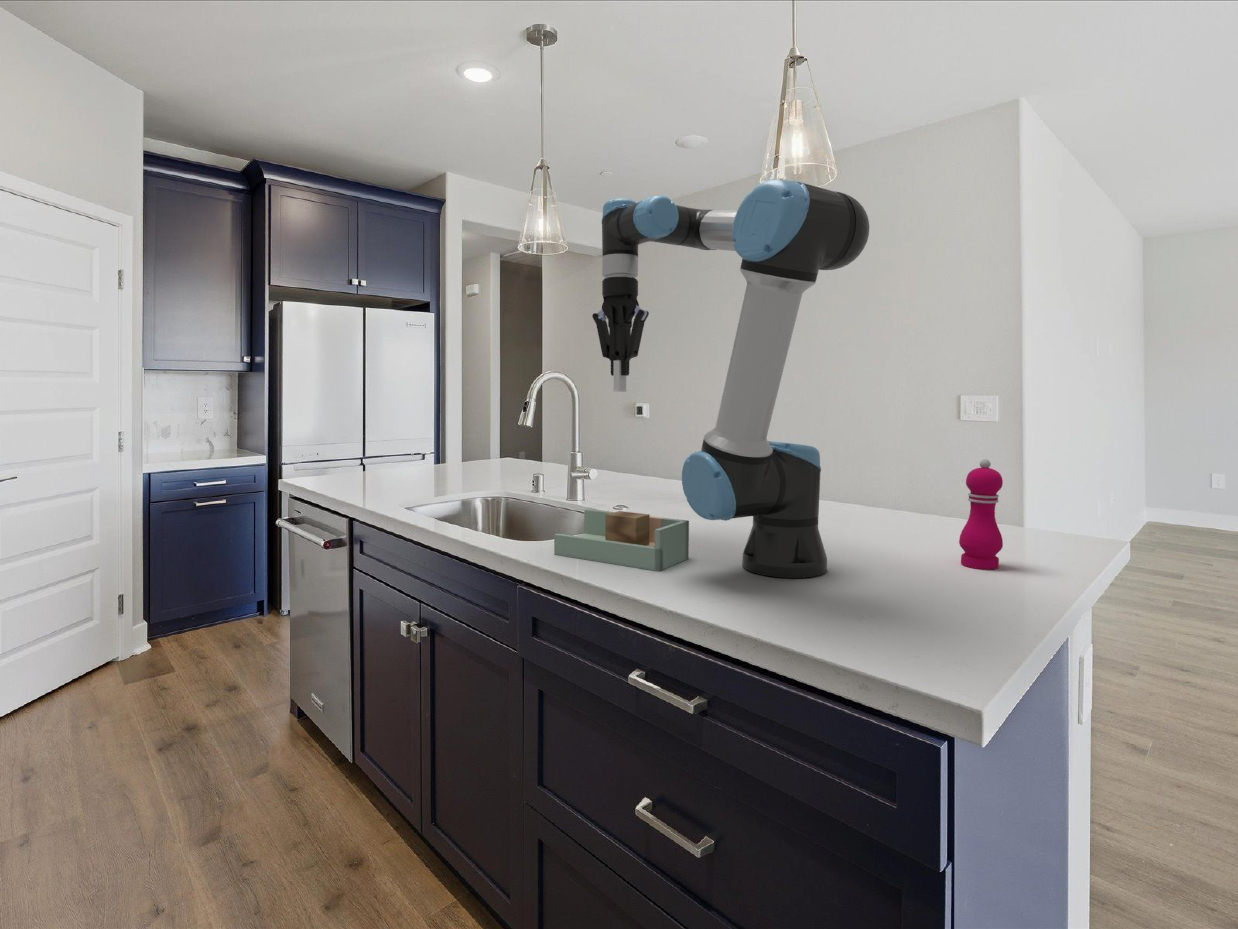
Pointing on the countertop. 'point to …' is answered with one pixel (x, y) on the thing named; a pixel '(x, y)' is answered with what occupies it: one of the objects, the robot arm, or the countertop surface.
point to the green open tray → (660, 554)
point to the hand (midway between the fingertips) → (619, 391)
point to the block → (627, 527)
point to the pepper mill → (982, 519)
